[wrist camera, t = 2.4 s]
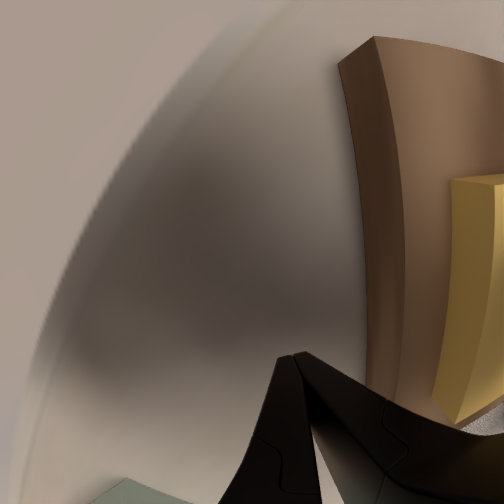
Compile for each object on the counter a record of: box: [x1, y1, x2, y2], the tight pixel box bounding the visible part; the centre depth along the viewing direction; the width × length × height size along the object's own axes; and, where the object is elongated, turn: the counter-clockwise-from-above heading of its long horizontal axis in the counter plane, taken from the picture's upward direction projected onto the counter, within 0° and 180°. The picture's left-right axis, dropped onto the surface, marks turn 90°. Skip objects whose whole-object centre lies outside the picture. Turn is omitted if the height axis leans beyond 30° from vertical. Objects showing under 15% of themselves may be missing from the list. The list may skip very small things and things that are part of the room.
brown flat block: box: [338, 36, 504, 430], centre depth 11 cm, size 11×18×3 cm, turn 10°
